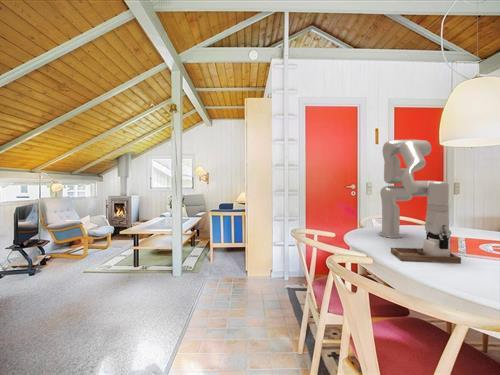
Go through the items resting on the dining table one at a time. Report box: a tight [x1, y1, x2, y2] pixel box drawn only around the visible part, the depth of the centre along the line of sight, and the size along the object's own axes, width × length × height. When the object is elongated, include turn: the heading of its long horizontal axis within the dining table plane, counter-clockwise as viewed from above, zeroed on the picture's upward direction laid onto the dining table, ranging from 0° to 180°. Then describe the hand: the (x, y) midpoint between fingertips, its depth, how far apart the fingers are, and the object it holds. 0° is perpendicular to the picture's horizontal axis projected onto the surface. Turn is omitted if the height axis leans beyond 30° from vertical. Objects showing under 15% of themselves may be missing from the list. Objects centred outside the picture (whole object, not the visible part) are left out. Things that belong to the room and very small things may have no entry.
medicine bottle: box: [422, 232, 451, 257], centre depth 107 cm, size 7×7×12 cm
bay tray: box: [390, 247, 462, 264], centre depth 108 cm, size 12×23×2 cm, turn 80°
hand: (436, 245), depth 107 cm, fingers open, 9 cm apart
